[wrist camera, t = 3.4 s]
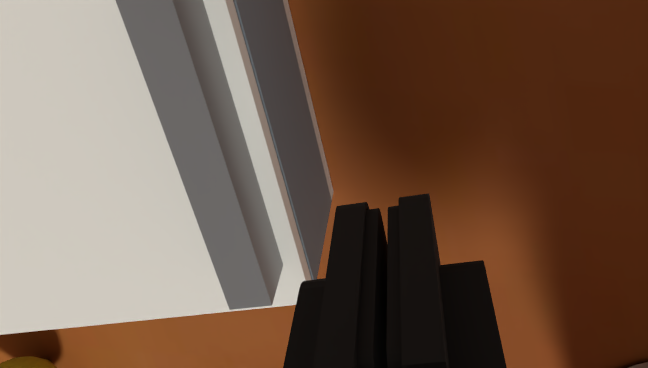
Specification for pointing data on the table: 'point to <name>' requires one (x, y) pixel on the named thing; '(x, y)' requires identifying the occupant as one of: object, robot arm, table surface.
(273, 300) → the lid
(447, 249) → the table surface
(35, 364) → the lemon
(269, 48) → the box
